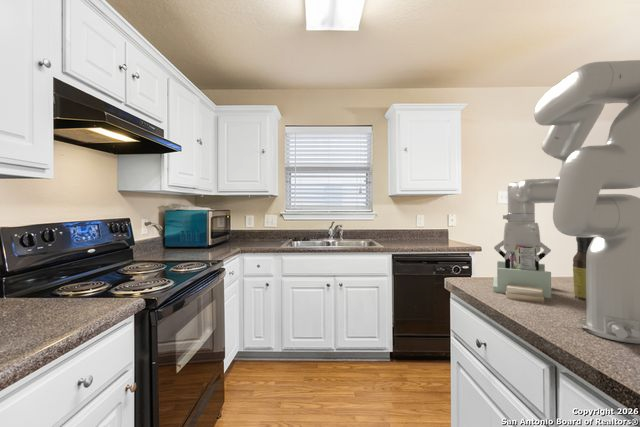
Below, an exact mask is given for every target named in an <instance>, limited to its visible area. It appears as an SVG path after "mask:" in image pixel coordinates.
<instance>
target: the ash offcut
mask: <svg viewBox="0 0 640 427" xmlns="http://www.w3.org/2000/svg"><path fill="white" fill-rule="evenodd" d="M507 293H512V294H519V295H526V296H534V297H541V298H542V297H543V288H539V287H531V286H522V285H514V284H508V285H507Z"/></svg>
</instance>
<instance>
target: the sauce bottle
mask: <svg viewBox="0 0 640 427" xmlns="http://www.w3.org/2000/svg"><path fill="white" fill-rule="evenodd" d="M594 237H595V236H575V241H576V244H577V249H576V250H577V252H576V254H575V255H574V256H573V259H572V262H573V263H572V274H573V276H572V277H573V278H572V279H573V294H574V298H575V299H577V300H580V301H583V302H586V255H587V250H588V247H589V245H590V243H591V241H592V240H593V238H594Z"/></svg>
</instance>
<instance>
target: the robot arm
mask: <svg viewBox="0 0 640 427" xmlns="http://www.w3.org/2000/svg"><path fill="white" fill-rule="evenodd" d="M606 104H627V105H626V106H625V107H624V108H623V109H622V110H620V112H619V113H618V114H617V116H616V117H615V118H614V120H613V121H612V123H611V125H610V128H609V133H608V136H607V139H606V142H605V144H604V145H602V144H600V145H598V144H597V145H586V146H583V144H584V143H585V141H586V140H587V138H588V136H589V134H590V132H591V131H592V129H593V127H594V126H595V124H596V122H597V121H598V119H599V117H600V116H601V114H602V112H603V110H604V107H605V105H606ZM533 116H534V120H535V122H536V123H537V124H538V125H540V126H543V127H544V126H547V127H548V126H550V128H549V130H548V132H547V134H546V136H545V138H544V140H543V142H542V144H541V150H542V151H543V152H544V153H545V154H546V155H548V156H550V157H551V158H554V159H557V160H559V161H561V167H560V170H559V172H558V174H557V175H556V177H555V178H532V179H531V178H529V179H524V180H520V181H515V182H511V183H508V184H507V185H508V186H507V213H506V214H505V215H504V214H503V215H502V220H506V221H507V222H504V223H505V224H504V229H503V240H502V241H500V242H499V243H497V244H496V245H494V247H493V249H494V250H495V251H496V252H497V253H498V254H499V255H500V256H501V257H502V258H503V259H504V261H505V268H508V269H510V259H509V256H510V254H511V253H512V252H514V253H515V248H516V246H534V247H536V270H537V271H539V264H540V262H541V260H542V259H543V258H545V257H546V256H547V255H548V254H549V253H551V251H552V249H551V248H550V247H548V246H547V245H546V244H544V243H543V242H542V241H541V233H540V227H539V224H538V222H536V213H535V212H536V211H535V210H536V208H535V207H536V204H549V203H550V204H553V210H552V220H553V224H554V226H555V228H556V230H557V231H558V232H559V233H561V234H563V235H566V236H570V237H577V236H592V237H594V238H593V240H592V241H591V243H590V245H589V247H588V250H587V255H586V301H585V302H586V317H582V318H579V319H578V323H579V324H580V325H581V326H583V327H580V329H582V330H583V331H585V332H587V333H589V334H592V335H594V336H596V337H597V336H598V337H600V338H604V339H606V340H611V341H616V342H622V343H629V344H640V197H638V196H636V195H632V194H625V193H600V192H601V190H625V189H626V190H627V189H628V190H629V189H636V188H640V59H638V60H637V59H635V60H634V59H632V60H630V59H629V60H611V61H610V60H609V61H608V60H607V61H603V60H602V61H594V62H589V63H585V64H584V65H581V66H580V67H578V68H576V69H574V70H573V71H572V72H571V73H569V74H568V75H567V76H565V77H564V78H562V79H561V80H560V81H559V82H557V83H556V84H555V85H553V86H552V87H551V88H550V89H548V91H546V92H545V93H544V94H543V96H542V97H540V99H539V101H538V102H537V104H536V106H535V109H534V113H533ZM582 146H583V147H582ZM501 247H503V250H504V251H506V252H504V251H503V250H502V249H501ZM541 249H543V251H542V252H541ZM538 253H539V254H538Z"/></svg>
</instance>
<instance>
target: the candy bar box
mask: <svg viewBox="0 0 640 427" xmlns="http://www.w3.org/2000/svg"><path fill="white" fill-rule="evenodd" d="M509 259H510V269H521V270H534V271H536V247H534V246H516V248H515V253H514V252H512V253H511V254H510V256H509Z"/></svg>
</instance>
